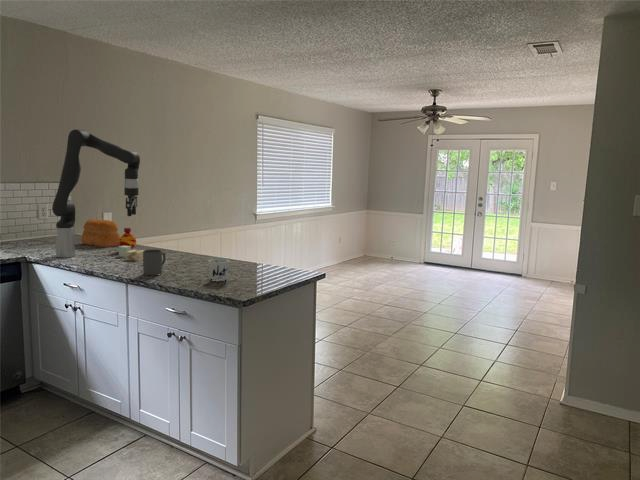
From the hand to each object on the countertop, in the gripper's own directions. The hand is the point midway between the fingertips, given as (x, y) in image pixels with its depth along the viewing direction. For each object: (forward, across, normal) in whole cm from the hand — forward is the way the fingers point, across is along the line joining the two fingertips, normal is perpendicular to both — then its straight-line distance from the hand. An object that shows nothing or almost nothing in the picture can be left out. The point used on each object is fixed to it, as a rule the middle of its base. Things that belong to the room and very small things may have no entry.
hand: (131, 215), depth 281 cm
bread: (+27, -53, -35) cm, 69 cm away
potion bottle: (+27, -28, -10) cm, 40 cm away
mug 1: (+26, +34, +21) cm, 47 cm away
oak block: (+26, -4, +1) cm, 27 cm away
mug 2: (+25, +45, +54) cm, 75 cm away
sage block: (+26, -13, -8) cm, 30 cm away
